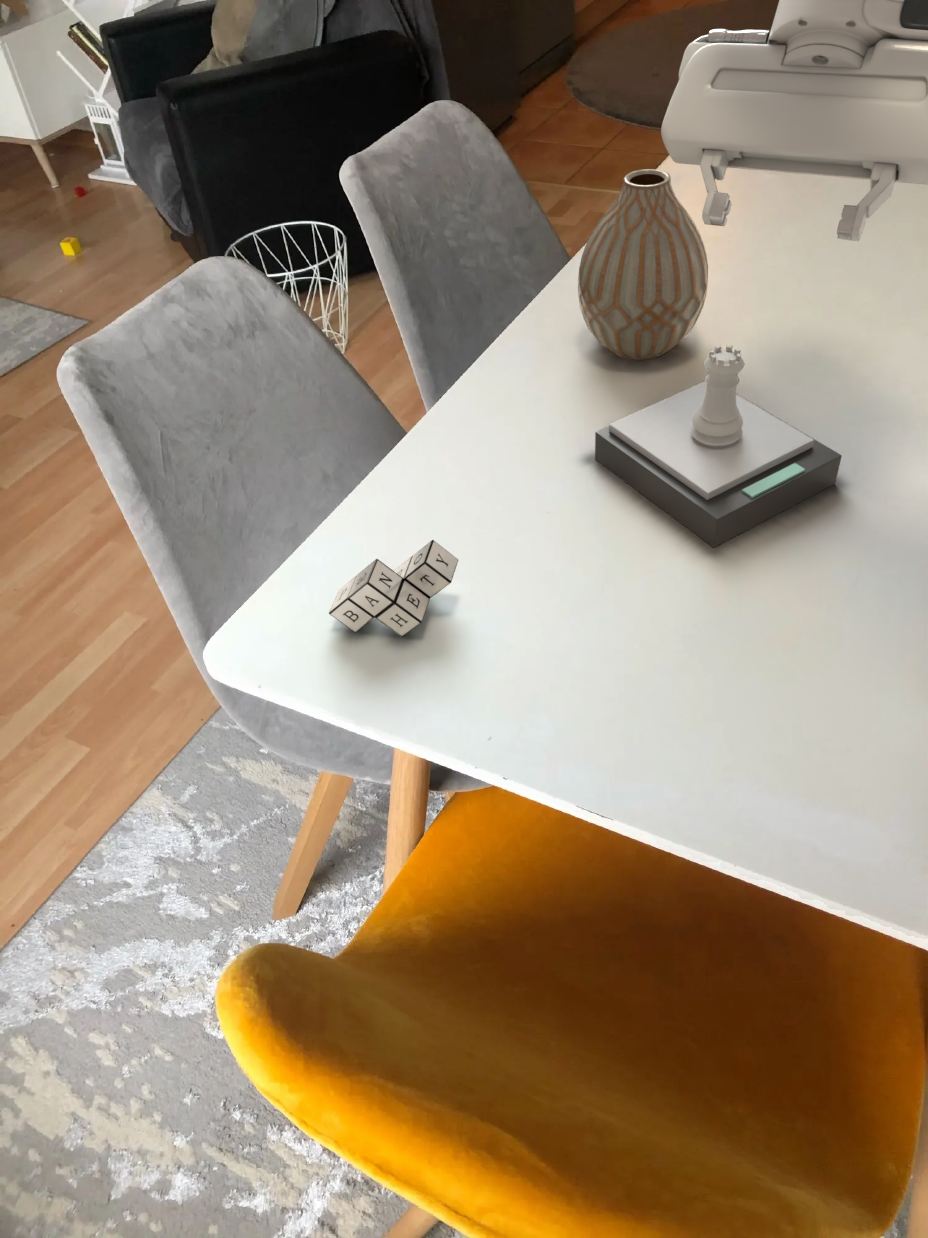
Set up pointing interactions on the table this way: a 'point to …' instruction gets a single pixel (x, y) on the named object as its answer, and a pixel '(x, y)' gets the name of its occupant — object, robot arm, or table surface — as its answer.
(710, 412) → the rook chess piece
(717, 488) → the kitchen scale
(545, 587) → the table surface
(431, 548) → the building blocks
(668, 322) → the vase
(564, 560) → the table surface
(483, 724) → the table surface
